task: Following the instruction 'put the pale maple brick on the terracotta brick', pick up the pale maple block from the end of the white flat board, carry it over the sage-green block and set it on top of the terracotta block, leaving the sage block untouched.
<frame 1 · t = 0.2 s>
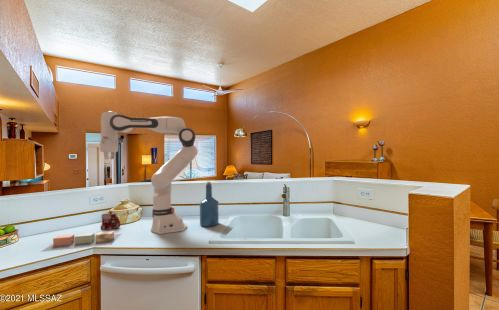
hand: (109, 159, 140), 47 cm above the counter, fingers open, 8 cm apart
terracotta brick: (64, 243, 122), point 1 cm above the counter, touching white flat board
dark brown lump: (110, 229, 149), on the counter
wine bottle: (209, 224, 157), on the counter
white flat board: (85, 243, 124), on the counter
maple brick: (105, 239, 127), point 1 cm above the counter, touching white flat board
sage brick: (84, 241, 124), point 1 cm above the counter, touching white flat board
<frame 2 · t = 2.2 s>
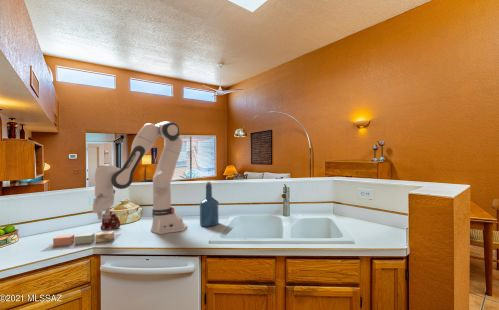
hand: (103, 216, 126), 14 cm above the counter, fingers open, 8 cm apart
nothing on the counter moved.
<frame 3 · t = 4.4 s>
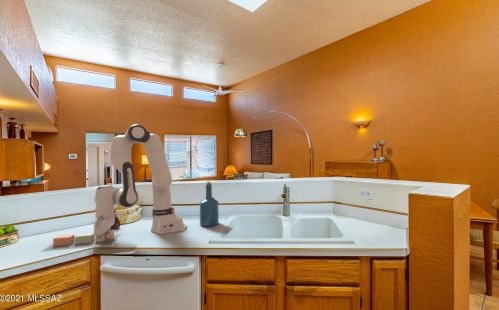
hand: (105, 237, 127), 2 cm above the counter, fingers closed on maple brick, 4 cm apart
maple brick: (105, 239, 127), point 1 cm above the counter, touching gripper, white flat board
everything else where it was.
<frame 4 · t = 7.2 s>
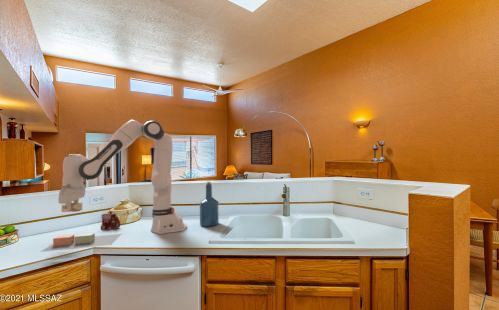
hand: (72, 208, 122), 20 cm above the counter, fingers closed on maple brick, 4 cm apart
maple brick: (72, 210, 122), point 19 cm above the counter, touching gripper
everything else where it was.
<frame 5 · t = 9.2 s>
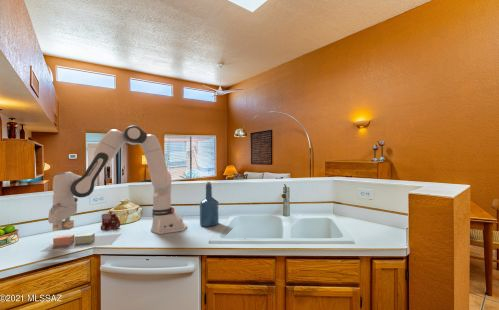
hand: (63, 226, 122), 11 cm above the counter, fingers closed on maple brick, 4 cm apart
maple brick: (63, 229, 122), point 9 cm above the counter, touching gripper
everything else where it was.
when the fingers open (8 cm above the counter, at t = 10.5 s): maple brick drops 1 cm, resting on terracotta brick.
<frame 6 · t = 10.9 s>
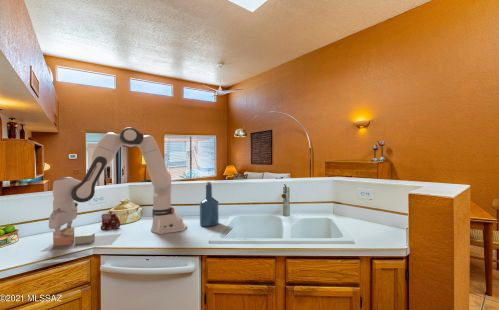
hand: (64, 231, 122), 8 cm above the counter, fingers open, 8 cm apart
terracotta brick: (64, 243, 122), point 1 cm above the counter, touching maple brick, white flat board
maple brick: (63, 236, 122), point 5 cm above the counter, touching terracotta brick
everything else where it was.
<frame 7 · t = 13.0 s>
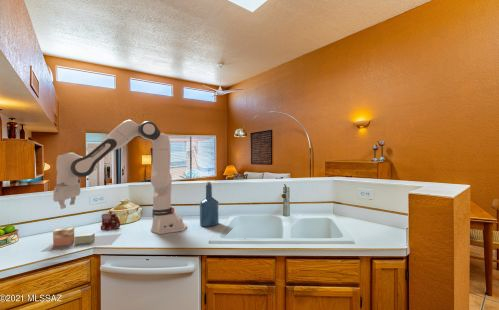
hand: (67, 206, 124), 21 cm above the counter, fingers open, 8 cm apart
nothing on the counter moved.
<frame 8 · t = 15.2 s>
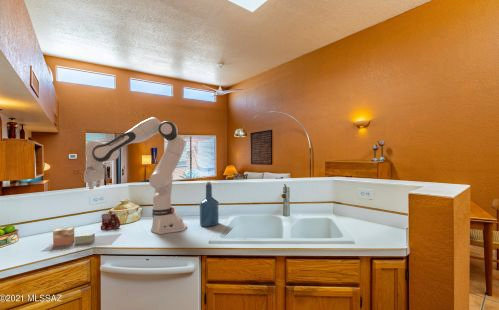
hand: (94, 188, 139), 29 cm above the counter, fingers open, 8 cm apart
nothing on the counter moved.
at the end: maple brick 0.0 cm off-centre on the terracotta brick, point 4.0 cm above the terracotta brick's base; sage brick moved 0.1 cm from its start; terracotta brick moved 0.1 cm from its start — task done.
